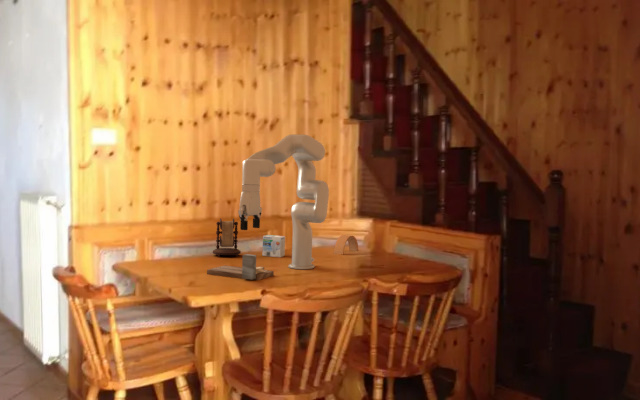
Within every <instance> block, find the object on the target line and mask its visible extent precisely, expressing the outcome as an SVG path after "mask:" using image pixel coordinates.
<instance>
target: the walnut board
mask: <svg viewBox="0 0 640 400" xmlns="http://www.w3.org/2000/svg"><path fill="white" fill-rule="evenodd" d="M206 274H207V275H212V276H217V277H219V276H220V277H227V278H228V277H230V278H234V279H235V278H236V279H243V280H245V279H244V278H242V266H241V267H240V266H232V265H221V266H217V267H212V268H208V269H207V270H206ZM274 274H275V273H274V270H267V269H264V272H261V273H257V274H256V278H255V279H250V280H254V281H259V280H262V279H266V278H269V277H274Z"/></svg>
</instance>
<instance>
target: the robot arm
mask: <svg viewBox="0 0 640 400" xmlns="http://www.w3.org/2000/svg"><path fill="white" fill-rule="evenodd" d="M325 155H326V149H325V146H324V145H323V143H321V142H320V141H318V140H317V139H316V138H314V137H312V136H310V135H308V134H288V135H286V136H285V137H283V138H282V139H280V140H279V141H278V142H277V143H275V145H273V146H269V147H267V148H265V149H261V150H259V151H257V152H255V153H252V155H250V156H249V157H248V158H247V159H244V160H243V161H242V167H241V168H242V171H241V172H242V173H241V174H242V175H241V176H242V179H241V193H240V199H239V209H238V212H237V213H238V216H239V221H240V227H239V228H240V231H247V230H248V227H249V226H248V225H249V224H248V223H249V222H248V218H249V217H253V218H252V228H254V229H260V226H261V218H262V217H261V216H262V211H263V207H261V194H260V193H261V177H262V178H263V177H264V178H268V177H272V176H273V175H274V174H275V172H276V169H277V168H276V165H279V164H282V163H284V162H286V161H287V160H288V159H289V158H291V157H292V158H293V160H294V161H295V163H296V166H297V171H298V173H297V183H296V196H297V197H298V198H299V199H302V200H308V201H298V202H295V203H294V204H293V205H292V206H291V209H290V214H291V215H290V216H291V221H292V239H291V240H292V243H291V263H289V264H288V268H290V269H296V270H312V269H315V264H313V263H312V262H315V258H314V257H313V256H312V255H313V229H312V226H311V224H310V223H312V224H322V223H324V222H325V220H326V219H327V214H328V207H329V206H328V204H329V195H330V189H329V188H330V187H329V185H328V184H327V182H326V181H325V180H321V179H318V180H317V179H316V174H317V171H316V170H317V169H316V166H315V165H314V163H313V162H317V161H322V160H323V159H324V158H325ZM312 161H313V162H312ZM309 200H310V201H314V202H309Z"/></svg>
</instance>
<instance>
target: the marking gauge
mask: <svg viewBox="0 0 640 400" xmlns="http://www.w3.org/2000/svg"><path fill="white" fill-rule="evenodd" d="M241 262H242V263H241V265H242V266H241V267H242V278H241V279H243V278H244V279H243V280H251V279H255V278H256V274H257V273H261V272H264V270H265V266H257V254H250V253H249V254H248V253H246V254H242V261H241Z"/></svg>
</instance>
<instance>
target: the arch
mask: <svg viewBox="0 0 640 400" xmlns="http://www.w3.org/2000/svg"><path fill="white" fill-rule="evenodd" d="M347 243H348V251H350V250H353V251H352V252H358V251H359V245H358V244H359V242H358V241H357V238H356V237H355V236H354V235H348V234H342V235H340V236H339V237H338V238H337V240H336V242H335V245H334V249H333V255H338V254H343V255H344V252H345V246H346V244H347Z"/></svg>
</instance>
